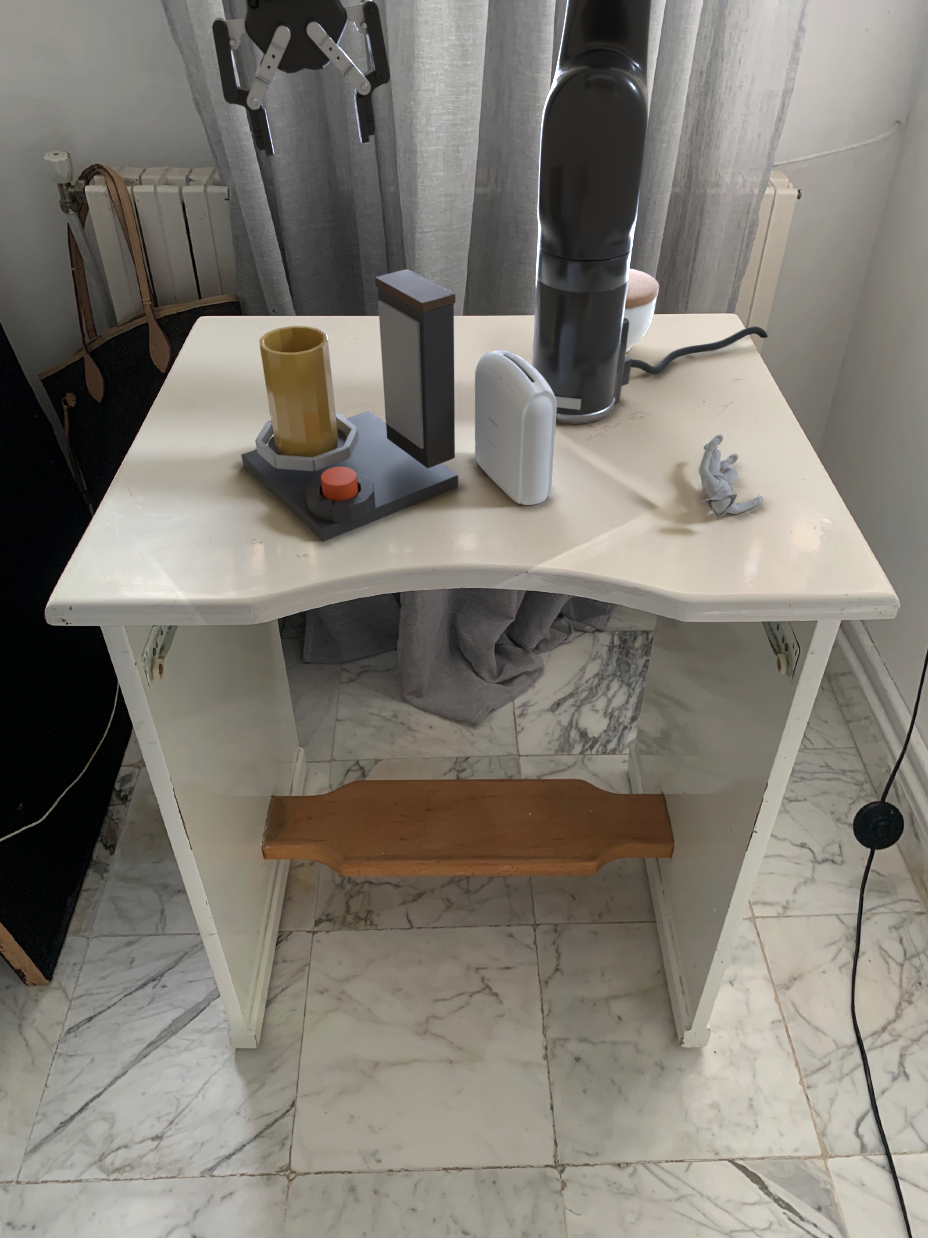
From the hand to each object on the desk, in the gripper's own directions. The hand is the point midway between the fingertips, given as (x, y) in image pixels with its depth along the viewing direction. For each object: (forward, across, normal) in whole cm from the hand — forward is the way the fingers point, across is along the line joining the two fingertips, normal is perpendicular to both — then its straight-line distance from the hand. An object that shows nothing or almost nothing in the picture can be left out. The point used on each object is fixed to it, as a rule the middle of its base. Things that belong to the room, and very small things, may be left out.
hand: (318, 148), depth 81 cm
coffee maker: (+24, -2, -11) cm, 27 cm away
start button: (+25, -4, -18) cm, 31 cm away
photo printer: (+29, +13, -15) cm, 35 cm away
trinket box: (+29, +31, +13) cm, 45 cm away
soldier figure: (+30, +31, -21) cm, 49 cm away
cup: (+23, -6, -10) cm, 26 cm away
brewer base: (+27, -3, -11) cm, 29 cm away
